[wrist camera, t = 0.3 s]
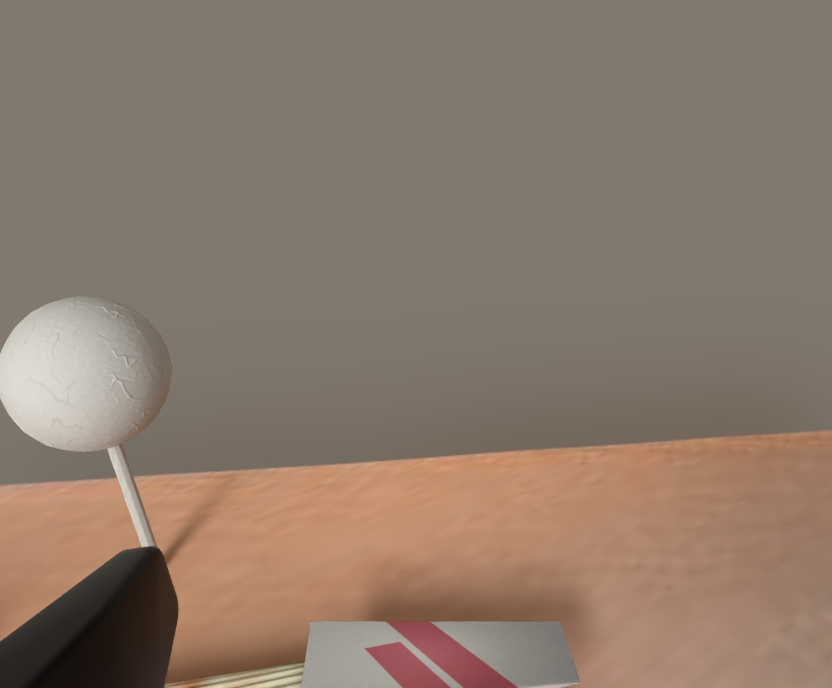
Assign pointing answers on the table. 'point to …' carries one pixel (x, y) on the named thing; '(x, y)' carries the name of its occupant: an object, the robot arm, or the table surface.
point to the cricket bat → (418, 657)
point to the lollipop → (87, 382)
